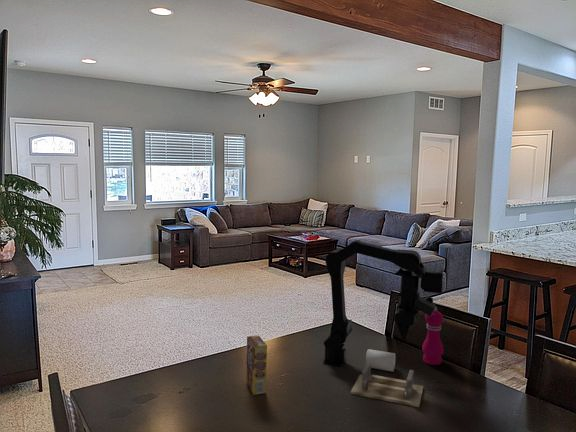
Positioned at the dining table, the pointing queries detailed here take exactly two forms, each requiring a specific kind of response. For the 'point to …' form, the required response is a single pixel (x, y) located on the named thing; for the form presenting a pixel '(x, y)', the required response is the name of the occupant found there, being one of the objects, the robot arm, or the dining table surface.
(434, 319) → the pepper mill
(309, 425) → the dining table surface
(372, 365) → the roll
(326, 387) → the dining table surface
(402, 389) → the roll holder
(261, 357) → the candy box
